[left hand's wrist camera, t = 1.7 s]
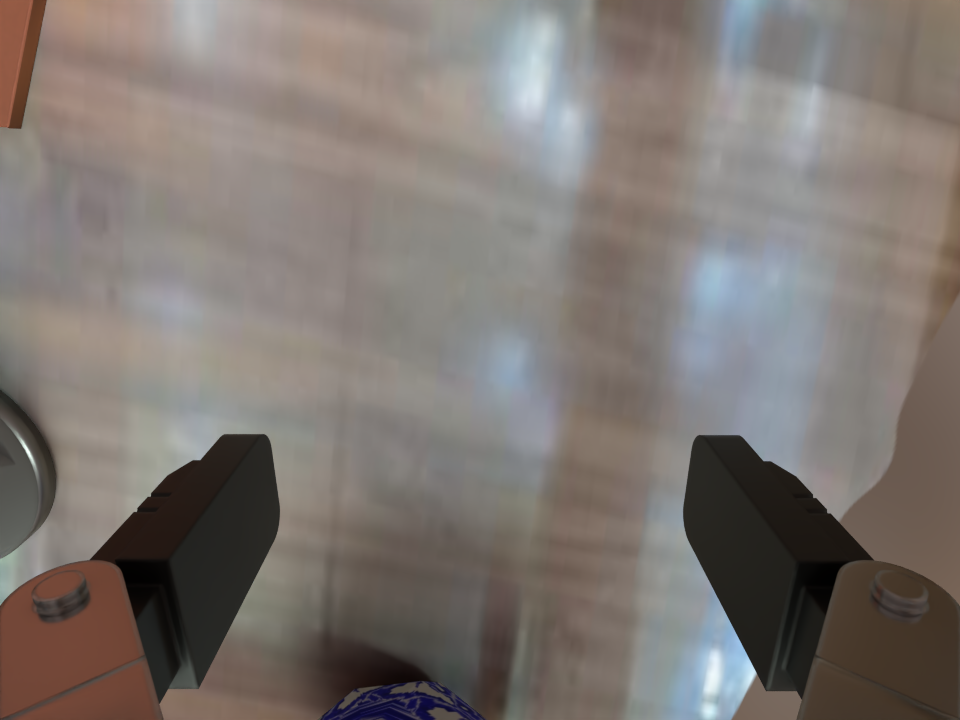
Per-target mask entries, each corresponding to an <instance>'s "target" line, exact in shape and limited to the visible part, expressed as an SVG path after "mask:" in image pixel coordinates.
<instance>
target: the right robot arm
mask: <svg viewBox="0 0 960 720" xmlns="http://www.w3.org/2000/svg"><path fill="white" fill-rule="evenodd" d="M55 489H56V480H55V471H54V466H53V462H52V459H51V456H50V453H49V450H48V448H47V446H46V443H45V441H44V440H43V438H42V436H41V434H40V432H39V431H38V429H37V428H36V427H35V425H34V424H33V422H32V421H31V420H30V419H29V417H28V416H27V415H26V414H25V413H24V411H23V410H22V409H21V408H20V407H19V406H18V405H17V404H16V403H15V402H14V401H12V400H11V399H10V398H9V397H8V396H7V395H6V394H4V393H3V392H2V391H0V559H1V558H3V557H5V556H6V555H8V554H10V553H11V552H13V551H14V550H15V549H16V548H18V547H19V546H20V545H21V544H22V543H23V542H25V541H26V540H27V539H28V538H29V537H30V536H31V535H33V534H34V533H35V532H36V531H37V530H38V529H39V528H40V527H41V525H42V524H43V523H44V521H45V520H46V518H47V516H48V515H49V513H50V510H51V508H52V505H53V501H54V497H55Z"/></svg>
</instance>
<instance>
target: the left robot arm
mask: <svg viewBox="0 0 960 720" xmlns="http://www.w3.org/2000/svg"><path fill="white" fill-rule="evenodd" d="M137 509H138V510H137V512H134V513H133V514H132V515H131V516H130V517H129V518H128V519H127V520H126V521H125V522H124V523H123V524H122V525H121V527H120V528H119V529H118V530H117V531H116V532H115V533H114V534H113V535H112V536H111V537H110V538H109V540H108V541H107V542H106V543H105V544H104V545H103V546H102V547H101V548H100V549H99V550H98V551H97V553H96V554H95V555H94V556H93V557H92V558H91V559H90V560H87V561H79V562H74V563H70V564H66V565H63V566H59V567H56V568H54V569H51V570H49V571H46V572H44V573H42V574H40V575H38V576H36V577H34V578H32V579H31V580H29V581H27V582H26V583H24V584H23V585H21V586H20V587H18V588H17V589H16V590H15V591H14V592H12V593H11V594H10V595H9V596H8V597H7V598H6V599H5V600H4V602H3V603H2V604H1V606H0V720H164V719H163V716H162V712H161V709H160V705H159V704H160V702H161V700H162V699H163V697H164V695H165V693H166V692H167V690H168V689H199V687H200V685H201V683H202V681H203V679H204V677H205V675H206V673H207V671H208V669H209V667H210V665H211V663H212V661H213V659H214V657H215V656H216V654H217V652H218V650H219V648H220V646H221V644H222V642H223V640H224V638H225V636H226V634H227V632H228V630H229V628H230V626H231V624H232V622H233V620H234V618H235V616H236V614H237V612H238V610H239V609H240V607H241V605H242V603H243V601H244V599H245V597H246V595H247V593H248V591H249V589H250V587H251V585H252V583H253V581H254V579H255V577H256V575H257V573H258V571H259V569H260V567H261V565H262V563H263V561H264V560H265V558H266V556H267V554H268V552H269V550H270V548H271V546H272V544H273V542H274V540H275V538H276V535H277V531H278V526H279V519H280V505H279V498H278V491H277V484H276V477H275V470H274V462H273V455H272V448H271V444H270V440H269V438H268V437H267V436H266V435H265V434H224V435H222V436H221V437H220V438H219V439H218V440H217V442H216V443H215V444H214V445H213V446H212V447H211V449H210V450H209V451H208V452H207V453H206V454H205V455H204V457H203V458H202V459H201V460H193V461H191V462H189V463H188V464H186V465H184V466H183V467H181V468H179V469H178V470H176V471H174V472H173V473H171V474H169V475H168V476H167V477H166V478H165V479H164V480H163V481H162V482H161V483H160V484H159V485H158V487H157V488H156V489H155V490H154V491H153V492H152V493H151V497H147V498H146V500H145V501H144V502H143V503H142V504H141V505H140V506H139V507H138V508H137ZM683 519H684V527H685V532H686V535H687V538H688V541H689V543H690V545H691V547H692V549H693V551H694V552H695V554H696V556H697V558H698V560H699V562H700V564H701V566H702V568H703V570H704V572H705V574H706V576H707V578H708V580H709V581H710V583H711V585H712V587H713V589H714V591H715V593H716V595H717V597H718V599H719V601H720V603H721V605H722V607H723V609H724V611H725V612H726V614H727V616H728V618H729V620H730V622H731V624H732V626H733V628H734V630H735V632H736V634H737V636H738V638H739V640H740V642H741V643H742V645H743V647H744V649H745V651H746V653H747V655H748V657H749V659H750V661H751V663H752V665H753V667H754V669H755V671H756V672H757V674H758V676H759V678H760V680H761V682H762V684H763V686H764V688H765V690H766V691H797V692H798V694H799V696H800V697H801V699H802V702H801V705H800V709H799V712H798V716H797V720H960V606H959V604H958V603H957V602H956V600H955V599H954V598H953V597H952V596H951V595H950V594H949V593H947V592H946V591H945V590H944V589H943V588H941V587H940V586H939V585H937V584H936V583H934V582H933V581H931V580H929V579H928V578H926V577H924V576H922V575H920V574H918V573H916V572H914V571H911V570H909V569H906V568H904V567H901V566H897V565H894V564H890V563H886V562H881V561H874V560H873V559H872V557H871V556H870V555H869V554H868V553H867V552H866V551H865V550H864V549H863V548H862V547H861V546H860V545H859V544H858V542H857V541H856V540H855V539H854V538H853V537H852V536H851V535H850V534H849V533H848V532H847V531H846V530H845V528H844V527H843V526H842V525H841V524H840V523H839V522H838V521H837V520H836V519H835V518H834V517H833V516H832V514H828V513H827V509H826V508H825V507H824V506H823V505H822V504H821V503H820V502H819V501H818V499H817V498H813V494H812V493H811V492H810V491H809V490H808V489H807V488H806V487H805V486H804V484H803V483H802V482H801V481H800V480H799V479H798V478H797V477H796V476H794V475H793V474H791V473H789V472H788V471H786V470H784V469H783V468H781V467H779V466H778V465H776V464H774V463H773V462H771V461H763V460H762V459H761V458H760V457H759V456H758V454H757V453H756V452H755V451H754V450H753V449H752V448H751V446H750V445H749V444H748V443H747V442H746V441H745V440H744V438H742V437H741V436H739V435H699V436H697V437H696V438H695V440H694V442H693V445H692V451H691V458H690V465H689V472H688V479H687V485H686V492H685V499H684V507H683Z"/></svg>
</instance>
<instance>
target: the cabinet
mask: <svg viewBox="0 0 960 720" xmlns="http://www.w3.org/2000/svg"><path fill="white" fill-rule="evenodd" d="M45 5H46V0H0V127H8V128H19V129H21V126H22V121H23V116H24V111H25V106H26V101H27V96H28V91H29V86H30V81H31V75H32V70H33V65H34V60H35V55H36V50H37V45H38V40H39V35H40V30H41V25H42V20H43V15H44V10H45Z"/></svg>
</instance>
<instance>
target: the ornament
mask: <svg viewBox="0 0 960 720" xmlns="http://www.w3.org/2000/svg"><path fill="white" fill-rule="evenodd" d="M318 720H486V719H485V718H484V717H483V716H481V715H480V714H479V713H478V712H476V711H475V710H474V709H473V708H471V707H470V706H469V705H468V704H466V703H465V702H464V701H463V700H461V699H460V698H459V697H458V696H456V695H455V694H454V693H453V692H451V691H450V690H449V689H448V688H446V687H445V686H444V685H443V684H441V683H440V682H426V681H417V682H409V683H400V684H392V685H383V686H375V687H366V688H357V689H354V690H353V691H352V692H350V693H349V694H348V695H347V696H346V697H344V698H343V699H342V700H341V701H340V702H338V703H337V704H336V705H335V706H334V707H332V708H331V709H330V710H329V711H328V712H326V713H325V714H324V715H323V716H322V717H321V718H319V719H318Z"/></svg>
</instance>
